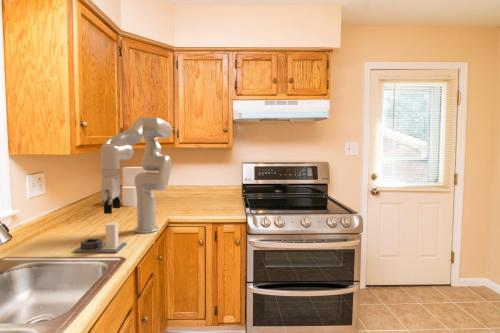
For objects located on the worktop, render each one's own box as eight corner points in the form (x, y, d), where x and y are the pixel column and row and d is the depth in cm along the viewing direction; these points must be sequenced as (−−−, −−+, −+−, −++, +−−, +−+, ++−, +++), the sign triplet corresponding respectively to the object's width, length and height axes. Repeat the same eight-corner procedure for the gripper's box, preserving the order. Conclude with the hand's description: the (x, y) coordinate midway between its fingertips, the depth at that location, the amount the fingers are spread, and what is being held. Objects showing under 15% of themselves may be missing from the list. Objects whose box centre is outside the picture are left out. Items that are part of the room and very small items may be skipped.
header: (87, 244, 155) (87, 237, 154) (126, 244, 155) (126, 237, 155) (74, 253, 143) (74, 245, 142) (116, 253, 143) (116, 245, 143)
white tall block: (127, 201, 262) (127, 166, 260) (149, 202, 261) (148, 167, 259) (118, 206, 245) (117, 168, 243) (141, 206, 244) (140, 168, 242)
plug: (109, 244, 151) (109, 222, 150) (118, 244, 151) (118, 222, 150) (106, 246, 147) (105, 224, 146) (115, 246, 147) (114, 224, 146)
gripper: (110, 170, 155) (111, 206, 157) (93, 175, 138) (95, 215, 140) (126, 170, 155) (127, 206, 157) (111, 175, 138) (113, 215, 140)
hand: (112, 210), depth 148 cm, fingers open, 9 cm apart
